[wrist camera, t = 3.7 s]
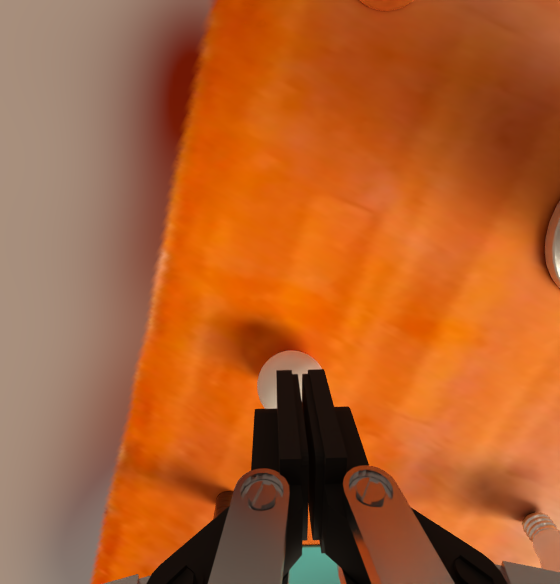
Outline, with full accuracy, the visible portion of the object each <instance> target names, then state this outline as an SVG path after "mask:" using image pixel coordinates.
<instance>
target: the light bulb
mask: <svg viewBox="0 0 560 584" xmlns="http://www.w3.org/2000/svg"><path fill="white" fill-rule="evenodd" d="M522 525H523V529H524V532H525V533H526V534H527V536H528V537H529V539H530V540H531V541H532V542H533V548H534V550H535V552H536V554H537V555H538V557H539V560H540V563H541V568H542V569H546V570H551V571H556V572H560V531H559V530H557V527H556V525H555V524H554V523H553V521H552V520H551V519H550V517H549V516H548V515H546V514H543V513H531V514H529V515H527V516H526V517H525V519H524V520H523V522H522Z"/></svg>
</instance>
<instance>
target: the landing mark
mask: <svg viewBox="0 0 560 584" xmlns="http://www.w3.org/2000/svg"><path fill="white" fill-rule="evenodd" d="M289 584H341V583H340V579H339V576H338V570H337V564H336V563H335V562H334V561H333V560H332V559H330V558H329V557H328V556H327V555H326V554H325V553H321V547H320V545H311V546H302V556H301V557H300V558H299V559H298V561H297V562H296V563H295V564H294V565H293V566H292V568H291V569H290V570H289Z"/></svg>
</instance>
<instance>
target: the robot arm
mask: <svg viewBox="0 0 560 584" xmlns="http://www.w3.org/2000/svg"><path fill="white" fill-rule="evenodd" d="M545 258H546V264H547V268H548V270H549V273H550V275H551V278H552V279H553V281H554V282H555V283H556V285H557V286H558V287H559V288H560V201H559V203H558V205H557V206H556V208H555V211H554V213H553V215H552V217H551V220H550V222H549V226H548V230H547V234H546V238H545ZM276 378H277V408H275V409H255V416H254V433H253V450H252V467H251V471H249V472H248V473H246V474H244V475H243V476H242V477H241V478H240V479H239V480H238V482H237V484H236V486H235V489H234V492H233V496H232V499H231V503H230V506H229V507H228V508H226V509H225V510H224V511H223V512H222V513H221V514H219V515H218V516H217V517H216V518H215V519H214V520H212V521H211V522H210V523H209V524H208V525H207V526H205V527H204V528H203V529H202V530H201V531H199V532H198V533H197V534H196V535H195V536H194V537H192V538H191V539H190V540H189V541H188V542H187V543H185V544H184V545H183V546H182V547H181V548H179V549H178V550H177V551H176V552H175V553H174V554H172V555H171V556H170V557H169V558H168V559H167V560H165V561H164V562H163V563H162V564H161V565H160V566H159V567H158V568H157V569H156V570H155V571H154V572H153V573H152V575H151V576H148V577H144V578H141V579H139V576H138V574H137V575H133V576H129V577H126V578H122V579H119V580H115V581H112V582H108V583H105V584H289V570H290V569H291V568H292V566H293V565H294V564H295V563H296V562H297V561H298V559H299V558H300V557H301V556H302V540H307V528H308V504H309V513H310V522H311V530H312V538H313V540H320V547H321V553H325V554H326V555H327V556H328V557H329V558H330V559H332V560H333V561H334V562H335V563H336V564H337V570H338V576H339V579H340V583H341V584H560V572H556V571H551V570H546V569H541V568H536V567H531V566H526V565H521V564H516V563H511V562H506V561H502V565H501V566H500V565H495V564H494V563H493V562H492V561H491V560H490V559H488V558H487V557H486V556H485V555H483V554H482V553H481V552H479V551H477V550H476V549H474V548H473V547H471V546H470V545H468V544H467V543H465V542H463V541H462V540H460V539H459V538H457V537H456V536H454V535H453V534H451V533H450V532H448V531H446V530H445V529H443V528H442V527H440V526H439V525H437V524H436V523H434V522H433V521H431V520H429V519H428V518H426V517H425V516H423V515H422V514H420V513H419V512H417V511H416V510H414V509H412V508H411V507H410V506H409V504H408V502H407V500H406V499H405V497H404V495H403V493H402V492H401V490H400V488H399V486H398V485H397V483H396V482H395V480H394V479H393V478H392V477H391V476H390V475H389V474H388V473H386V472H385V471H383V470H381V469H379V468H377V467H373V466H369V464H368V461H367V458H366V455H365V452H364V449H363V446H362V443H361V440H360V437H359V434H358V431H357V428H356V425H355V422H354V419H353V416H352V413H351V410H350V408H349V407H334V405H333V401H332V398H331V394H330V390H329V386H328V383H327V379H326V375H325V371H324V369H312V370H308V374H302V401H301V393H300V386H299V379H298V374H292V370H276Z"/></svg>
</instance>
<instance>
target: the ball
mask: <svg viewBox="0 0 560 584" xmlns="http://www.w3.org/2000/svg"><path fill="white" fill-rule="evenodd" d="M312 369H322V368H321V366H320V365H319V364H318V362H317V361H316V360H315V359H314V358H312V357H311V356H309V355H308V354H306V353H303V352H300V351H295V350H289V351H283V352H280V353H278V354H276V355H274V356H272V357H271V358H270V359H269V360H268V361H267V362H266V363H265V364H264V366H263V367H262V369H261V371H260V374H259V377H258V382H257V389H258V395H259V398H260V401H261V403H262V405H263V406H264V408H265V409H275V408H277V378H276V370H292V374H298V379H299V386H300V393H301V401H302V374H308V370H312Z"/></svg>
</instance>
